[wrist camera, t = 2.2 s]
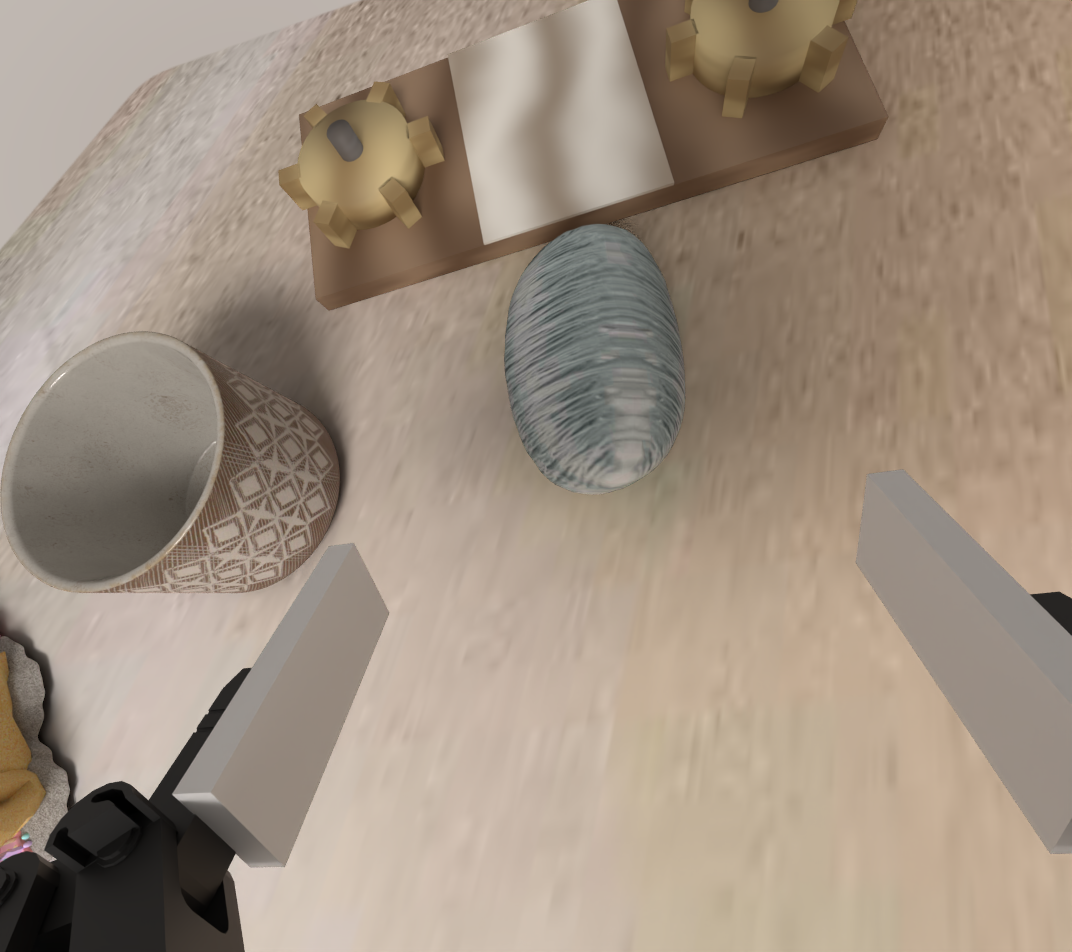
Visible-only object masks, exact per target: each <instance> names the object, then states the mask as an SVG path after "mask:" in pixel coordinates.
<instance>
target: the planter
mask: <svg viewBox="0 0 1072 952" xmlns="http://www.w3.org/2000/svg"><path fill="white" fill-rule="evenodd" d="M339 483H340V473H339V463H338V458H337V454H336V450H335V447H334V444H333V442H332V440H331V438H330V436H329V434H328V432H327V430H326V429H325V427H324V426H323V424H322V423H321V422H320V421H319V420H318V419H317V418H316V417H315V416H314V415H313V414H312V413H311V412H310V411H308V410H307V409H306V408H304V407H303V406H301V405H299V404H297V403H295V402H294V401H292V400H290V399H288V398H286V397H284V396H282V395H280V394H279V393H277V392H275V391H273V390H271V389H269V388H267V387H266V386H264V385H262V384H260V383H258V382H256V381H254V380H253V379H251V378H249V377H247V376H245V375H243V374H241V373H240V372H238V371H236V370H234V369H232V368H230V367H228V366H227V365H225V364H223V363H221V362H219V361H217V360H215V359H214V358H212V357H210V356H208V355H206V354H204V353H202V352H201V351H199V350H197V349H195V348H193V347H191V346H189V345H188V344H186V343H184V342H182V341H180V340H178V339H176V338H174V337H171V336H169V335H165V334H161V333H156V332H146V331H145V332H129V333H123V334H119V335H115V336H112V337H109V338H106V339H103V340H101V341H99V342H96V343H94V344H92V345H90V346H89V347H87V348H85V349H84V350H82V351H80V352H79V353H77V354H76V355H74V356H73V357H72V358H70V359H69V360H68V361H67V362H65V363H64V364H63V365H62V366H61V367H60V368H58V369H57V370H56V371H55V372H54V373H53V374H52V375H51V376H50V378H49V379H48V380H47V381H46V382H45V383H44V384H43V385H42V387H41V388H40V389H39V390H38V392H37V393H36V394H35V396H34V397H33V399H32V400H31V402H30V403H29V405H28V406H27V408H26V410H25V411H24V413H23V415H22V417H21V419H20V421H19V423H18V425H17V427H16V429H15V431H14V434H13V436H12V439H11V441H10V444H9V447H8V450H7V454H6V458H5V462H4V466H3V472H2V479H1V491H0V503H1V514H2V521H3V525H4V530H5V533H6V536H7V539H8V541H9V544H10V546H11V548H12V550H13V552H14V554H15V555H16V557H17V558H18V560H19V561H20V562H21V564H22V565H23V566H24V567H25V568H26V569H27V570H28V571H29V572H30V573H31V574H32V575H33V576H35V577H36V578H37V579H39V580H40V581H42V582H43V583H45V584H47V585H49V586H51V587H54V588H57V589H60V590H64V591H69V592H79V593H243V592H250V591H255V590H259V589H262V588H265V587H268V586H270V585H272V584H274V583H276V582H278V581H280V580H282V579H284V578H285V577H287V576H288V575H290V574H291V573H292V572H294V571H295V570H296V569H297V568H299V567H300V566H301V565H302V564H303V563H304V562H305V561H306V560H307V559H308V558H309V557H310V555H311V554H312V553H313V552H314V550H315V549H316V548H317V546H318V545H319V543H320V542H321V540H322V539H323V537H324V535H325V533H326V531H327V529H328V527H329V525H330V523H331V520H332V518H333V515H334V512H335V508H336V504H337V500H338V494H339Z"/></svg>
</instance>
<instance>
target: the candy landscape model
mask: <svg viewBox="0 0 1072 952" xmlns="http://www.w3.org/2000/svg"><path fill="white" fill-rule="evenodd" d="M44 697H45V689H44V686H43V680H42V676H41V673H40V667H39V665H38V663H37V662H35V661H33V660H31V659H29V658H28V657H27V656H26V655H25V651H24V648H23V646H22V645H20V644H18V643H16V642H14V641H12V640H11V639H9V638H8V637H6V636H3V637H1V638H0V862H2V861H3V860H5V859H7V858H8V857H10V856H12V855H15V854H18V853H21V852H25V851H29V852H35V853H37V854H38V855H40V856H41V857H43V858H44V859H46V860H47V861H50V860H51V858H52V857H53V856H51V855H50V854H49V853H47V852H46V851H44V849H45V846H46V844H47V841H48V838H49V835H50V834H51V833H52V831H53V830H54V828H55V827H56V825H57V824H58V822H59V821H60V820H61V818H62V817H63V816H64V815H65V814H66V813H67V812H68V809H67V799H68V796H69V793H70V788H69V784H68V778H67V773H66V771H65V770H64V769H63V768H61V767H59V766H58V765H56V764H55V763H54V762H53V758H52V751H51V750H50V748H48V747H47V746H45V745H44V744H42V743H40V742H39V740H38V733H39V730H40V728H41V725H42V722H43V719H44V711H43V708H42V704H43V700H44Z"/></svg>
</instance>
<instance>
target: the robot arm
mask: <svg viewBox="0 0 1072 952" xmlns="http://www.w3.org/2000/svg"><path fill="white" fill-rule="evenodd" d="M856 564H857V565H858V567H859V568H860V570H861V571H862V573H863V574H864V576H865V577H866V579H867V580H868V582H869V583H870V585H871V586H872V588H873V589H874V591H875V592H876V594H877V595H878V597H879V598H880V600H881V601H882V603H883V604H884V606H885V607H886V609H887V610H888V612H889V613H890V615H891V616H892V618H893V619H894V621H895V622H896V624H897V625H898V627H899V628H900V630H901V631H902V633H903V634H904V636H905V637H906V639H907V640H908V642H909V643H910V645H911V646H912V648H913V649H914V651H915V652H916V654H917V655H918V657H919V658H920V660H921V661H922V663H923V664H924V666H925V667H926V669H927V670H928V672H929V673H930V675H931V676H932V678H933V679H934V681H935V682H936V684H937V685H938V687H939V688H940V690H941V691H942V693H943V694H944V696H945V697H946V699H947V700H948V702H949V703H950V705H951V706H952V708H953V709H954V711H955V712H956V713H957V715H958V716H959V718H960V719H961V721H962V722H963V724H964V725H965V727H966V728H967V730H968V731H969V733H970V734H971V736H972V737H973V739H974V740H975V742H976V743H977V745H978V746H979V748H980V749H981V751H982V752H983V754H984V755H985V757H986V758H987V760H988V761H989V763H990V764H991V766H992V767H993V769H994V770H995V772H996V773H997V775H998V776H999V778H1000V779H1001V781H1002V782H1003V784H1004V785H1005V787H1006V788H1007V790H1008V791H1009V793H1010V794H1011V796H1012V797H1013V799H1014V800H1015V802H1016V803H1017V805H1018V806H1019V808H1020V809H1021V811H1022V812H1023V814H1024V815H1025V817H1026V818H1027V820H1028V821H1029V823H1030V824H1031V826H1032V827H1033V829H1034V830H1035V832H1036V833H1037V835H1038V836H1039V838H1040V839H1041V841H1042V842H1043V844H1044V845H1045V847H1046V848H1047V850H1048V851H1049V853H1050V854H1065V853H1072V598H1070V597H1068V596H1066V595H1064V594H1062V593H1061V592H1051V593H1041V594H1029V593H1028V592H1027V591H1026V590H1025V589H1024V588H1023V587H1022V586H1021V585H1020V584H1019V583H1018V582H1017V581H1016V580H1015V579H1014V578H1013V577H1012V576H1010V575H1009V574H1008V573H1007V572H1006V571H1005V570H1004V569H1003V568H1002V567H1001V566H1000V565H999V564H998V563H997V562H996V561H995V560H994V559H993V558H992V557H991V556H990V555H989V554H988V553H987V552H986V551H985V550H984V549H983V548H982V547H981V546H980V545H979V544H978V543H977V542H976V541H975V540H974V539H973V538H972V537H971V536H970V535H969V534H968V533H967V532H966V531H965V530H964V529H963V528H962V527H961V526H960V525H959V524H958V523H957V522H956V521H955V520H954V519H953V518H952V517H951V516H950V515H949V514H948V513H947V512H946V511H945V510H944V509H943V508H942V507H941V506H940V505H939V504H938V503H937V502H936V501H935V500H934V499H933V498H932V497H931V496H929V495H928V494H927V493H926V492H925V491H924V490H923V489H922V488H921V487H920V486H919V485H918V484H917V483H916V482H915V481H914V480H913V479H912V478H911V477H910V476H909V475H908V474H907V473H906V472H905V471H904V470H903V469H902V470H895V471H887V472H880V473H872V474H867V479H866V487H865V495H864V503H863V511H862V518H861V526H860V534H859V542H858V550H857V557H856ZM388 615H389V611H388V609H387V607H386V605H385V603H384V601H383V599H382V597H381V595H380V593H379V591H378V589H377V587H376V585H375V583H374V581H373V579H372V578H371V576H370V574H369V572H368V570H367V568H366V566H365V564H364V562H363V560H362V558H361V556H360V554H359V552H358V550H357V548H356V546H355V544H354V543H350V544H342V545H335V546H329V547H328V549H327V550H326V552H325V553H324V555H323V557H322V558H321V560H320V561H319V563H318V564H317V566H316V568H315V569H314V571H313V572H312V574H311V576H310V577H309V579H308V580H307V582H306V583H305V585H304V587H303V588H302V590H301V591H300V593H299V594H298V596H297V598H296V599H295V601H294V602H293V604H292V606H291V607H290V609H289V610H288V612H287V613H286V615H285V617H284V618H283V620H282V621H281V623H280V624H279V626H278V628H277V629H276V631H275V632H274V634H273V636H272V637H271V639H270V640H269V642H268V643H267V645H266V647H265V648H264V650H263V651H262V653H261V654H260V656H259V658H258V659H257V661H256V662H255V664H254V666H253V667H252V668H244V669H242V670H241V671H240V672H239V673H238V674H237V675H236V676H235V677H234V678H233V679H232V680H231V681H230V682H229V683H228V684H227V685H226V686H225V687H224V688H223V689H222V691H221V692H220V694H219V695H218V697H217V698H216V700H215V701H214V703H213V704H212V706H211V707H210V709H209V713H208V714H206V715H205V716H204V718H203V719H202V721H201V722H200V724H199V725H198V727H197V732H196V733H193V734H192V736H191V737H190V739H189V740H188V742H187V743H186V745H185V746H184V748H183V749H182V751H181V752H180V754H179V755H178V757H177V758H176V760H175V761H174V763H173V764H172V766H171V768H170V769H169V771H168V772H167V774H166V775H165V777H164V778H163V780H162V781H161V783H160V784H159V786H158V787H157V789H156V790H155V792H154V793H153V795H152V796H151V798H150V799H149V800H147V799H146V798H145V797H144V796H143V795H142V794H141V793H139V792H138V791H137V790H136V789H135V788H134V787H133V786H131V785H130V784H128V783H125V782H123V781H119V782H114V783H108V784H106V785H104V786H102V787H100V788H98V789H96V790H94V791H92V792H91V793H90V794H88V795H87V796H85V797H84V798H83V799H81V800H80V801H79V802H77V803H76V804H75V805H74V806H73V807H72V808H71V809H70V810H69V811H68V812H67V813H66V814H65V815H64V816H63V817H62V818H61V820H60V821H59V822H58V824H57V825H56V827H55V828H54V830H53V831H52V833H51V834H50V835H49V838H48V841H47V844H46V846H45V849H44V851H46V852H47V853H49V854H50V855H51V856H53V857H54V858H56V859H57V860H55V861H52V862H49V861H47V860H46V859H44V858H43V857H41V856H40V855H38V854H37V853H35V852H29V851H25V852H21V853H18V854H15V855H12V856H10V857H8V858H7V859H5V860H3V861H2V862H0V952H245V950H244V944H243V937H242V931H241V924H240V918H239V911H238V904H237V898H236V891H235V885H234V881H233V878H232V876H231V874H230V872H228V871H227V870H228V868H229V866H230V864H231V862H232V860H233V858H234V856H235V853H236V854H237V855H238V856H239V857H240V858H241V859H242V860H243V861H244V862H245V863H246V864H247V865H248V866H249V867H285V865H286V863H287V860H288V858H289V856H290V853H291V851H292V848H293V846H294V843H295V841H296V839H297V836H298V834H299V831H300V829H301V826H302V824H303V822H304V819H305V817H306V814H307V812H308V809H309V807H310V805H311V802H312V800H313V797H314V795H315V792H316V790H317V788H318V785H319V783H320V780H321V778H322V775H323V773H324V771H325V768H326V766H327V763H328V761H329V758H330V756H331V754H332V751H333V749H334V746H335V744H336V741H337V739H338V737H339V734H340V732H341V729H342V727H343V724H344V722H345V720H346V717H347V715H348V712H349V710H350V707H351V705H352V703H353V700H354V698H355V695H356V693H357V690H358V688H359V686H360V683H361V681H362V678H363V676H364V673H365V671H366V669H367V666H368V664H369V661H370V659H371V656H372V654H373V652H374V649H375V647H376V644H377V642H378V639H379V637H380V635H381V632H382V630H383V627H384V625H385V622H386V620H387V618H388Z"/></svg>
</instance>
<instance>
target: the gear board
mask: <svg viewBox="0 0 1072 952" xmlns="http://www.w3.org/2000/svg"><path fill="white" fill-rule="evenodd" d="M856 3H857V0H588V1H586V2H583V3H580V4H578V5H575V6H573V7H570V8H567V9H565V10H562V11H560V12H557V13H554V14H552V15H549V16H547V17H544V18H541V19H539V20H536V21H534V22H531V23H528V24H526V25H523V26H521V27H518V28H515V29H513V30H510V31H508V32H505V33H502V34H500V35H497V36H495V37H492V38H489V39H487V40H484V41H481V42H479V43H476V44H474V45H471V46H468V47H466V48H463V49H461V50H458V51H455V52H453V53H450V54H448V58H446V59H443V60H440V61H438V62H435V63H432V64H430V65H427V66H425V67H422V68H419V69H417V70H414V71H412V72H409V73H406V74H404V75H401V76H399V77H396V78H393V79H391V80H388V81H386V82H374V84H373V86H372V87H370V88H367V89H365V90H362V91H359V92H357V93H354V94H352V95H349V96H346V97H344V98H341V99H339V100H336V101H333V102H331V103H328V104H326V105H323V106H320V107H319V106H318V105H317V104H316V105H315V106H314V107H312V108H311V109H310V110H309V111H307V112H305V113H302V114H299V120H300V131H301V142H302V148H301V150H300V153H299V157H298V164H295V165H292V166H290V167H287V168H284V169H282V170H279V185H280V186H281V187H282V188H283V189H284V191H285V192H286V193H287V194H288V195H289V196H290V197H291V198H292V199H293V200H294V202H295V203H296V204H297V205H298V206H299V207H300V208H301V209H302V210H305V209H308V219H309V230H310V241H311V252H312V263H313V274H314V285H315V297H316V300H317V301H319V302H320V303H321V304H322V305H323V306H324V307H325V308H327V309H328V310H332V309H335V308H338V307H342V306H345V305H348V304H351V303H354V302H358V301H361V300H364V299H367V298H370V297H374V296H377V295H380V294H383V293H386V292H390V291H393V290H396V289H399V288H402V287H406V286H409V285H412V284H415V283H418V282H422V281H425V280H428V279H431V278H434V277H438V276H441V275H444V274H447V273H450V272H454V271H457V270H460V269H463V268H466V267H469V266H473V265H476V264H479V263H482V262H485V261H489V260H492V259H495V258H498V257H501V256H505V255H508V254H511V253H514V252H517V251H521V250H524V249H527V248H530V247H533V246H537V245H540V244H543V243H546V242H549V241H553V240H554V239H555V238H557V237H558V236H560V235H561V234H563V233H565V232H566V231H569V230H573V229H576V228H579V227H581V226H585V225H592V224H607V223H610V222H613V221H616V220H620V219H623V218H626V217H629V216H632V215H636V214H639V213H642V212H645V211H648V210H652V209H655V208H658V207H661V206H664V205H668V204H671V203H674V202H677V201H680V200H684V199H687V198H690V197H693V196H696V195H700V194H703V193H706V192H709V191H712V190H716V189H719V188H722V187H725V186H728V185H732V184H735V183H738V182H741V181H744V180H747V179H751V178H754V177H757V176H760V175H763V174H767V173H770V172H773V171H776V170H779V169H783V168H786V167H789V166H792V165H795V164H799V163H802V162H805V161H808V160H811V159H815V158H818V157H821V156H824V155H827V154H831V153H834V152H837V151H840V150H843V149H847V148H850V147H853V146H856V145H859V144H863V143H866V142H869V141H872V140H875V139H878V137H879V135H880V133H881V131H882V129H883V127H884V125H885V123H886V121H887V119H888V115H887V112H886V110H885V108H884V106H883V104H882V102H881V99H880V97H879V95H878V93H877V91H876V89H875V86H874V84H873V82H872V80H871V78H870V76H869V73H868V71H867V69H866V67H865V65H864V63H863V60H862V58H861V56H860V54H859V52H858V50H857V47H856V45H855V43H854V41H853V39H852V37H851V34H850V32H849V30H848V28H847V26H846V24H845V20H848V19H851V18H852V15H853V12H854V9H855V6H856Z"/></svg>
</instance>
